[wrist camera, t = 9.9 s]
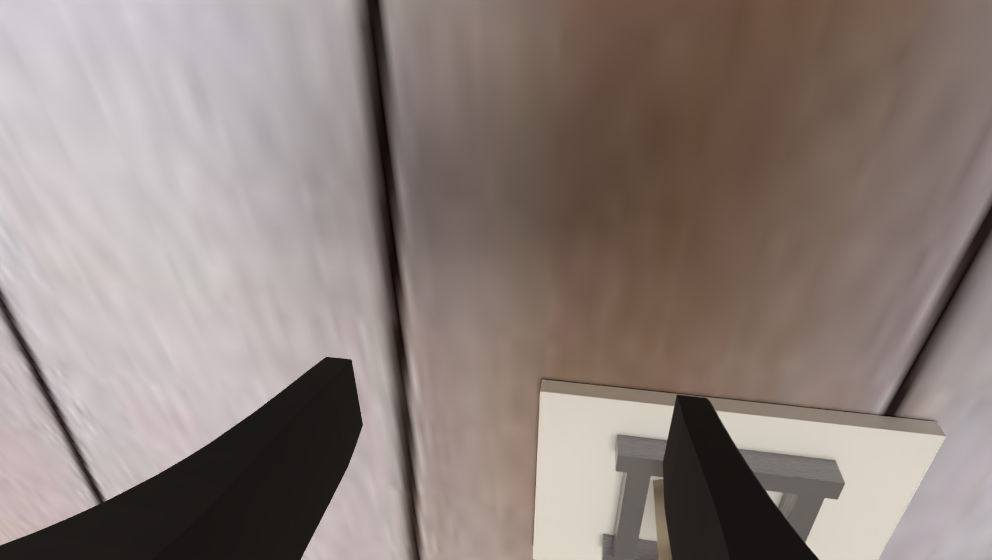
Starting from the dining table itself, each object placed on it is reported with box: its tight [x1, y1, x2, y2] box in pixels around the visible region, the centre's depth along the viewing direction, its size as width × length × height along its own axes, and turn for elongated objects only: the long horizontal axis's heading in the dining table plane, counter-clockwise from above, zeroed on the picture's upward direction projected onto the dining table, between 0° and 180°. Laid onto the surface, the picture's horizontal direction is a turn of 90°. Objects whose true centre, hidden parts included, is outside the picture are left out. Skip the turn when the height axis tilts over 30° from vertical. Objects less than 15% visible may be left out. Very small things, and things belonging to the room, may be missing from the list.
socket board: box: [533, 379, 946, 560], centre depth 27 cm, size 16×12×2 cm
